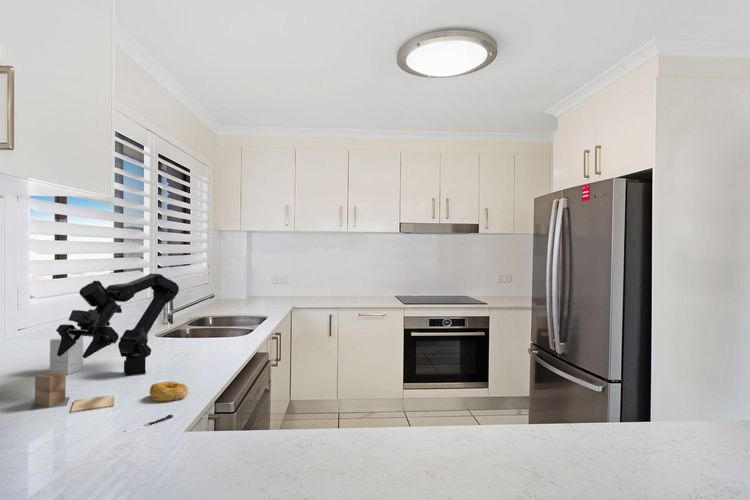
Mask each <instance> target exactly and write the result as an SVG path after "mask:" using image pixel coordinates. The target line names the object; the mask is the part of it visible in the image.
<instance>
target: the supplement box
mask: <svg viewBox="0 0 750 500" xmlns="http://www.w3.org/2000/svg"><path fill="white" fill-rule="evenodd" d="M60 342H61V336H58V337H54V338H50V340H49V372H51V371H55V372H66V375H70V374H73V373H76V372H79V371H81V370H83V368H84V358H83V354H84V336H81V337H80V338H79V339H78V340H76V342H77V343H75V344H74V345H73V346H72V347H71V348H70V349H69V350H67V351H66V352H65V353H64V354H63V355H61V356H60V357H59V356H57V352H58V349H59V346H60Z"/></svg>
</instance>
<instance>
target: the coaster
mask: <svg viewBox="0 0 750 500" xmlns="http://www.w3.org/2000/svg"><path fill="white" fill-rule="evenodd" d="M115 398H116V396H115V394H112V395H111V394H110V395H105V396H95V397H88V398H80V399H75V400H74V401H73V405H72V407H71V411H70V414H74V413H80V411H81V412H87V410H88V411H94V409H95V410H100V409H101V408H102V409H107V407H109V408H114V407H115ZM113 406H114V407H113Z"/></svg>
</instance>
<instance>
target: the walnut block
mask: <svg viewBox="0 0 750 500" xmlns="http://www.w3.org/2000/svg"><path fill="white" fill-rule="evenodd" d="M34 377H35V378H34V401H35V406H42V407H51V406H54V405H57V404H59V403H62V402H65V397H66V389H67V388H66V377H67V374H66V372H55V371H51V372H50V371H48V372H44V373H41V374H37V375H35V376H34Z"/></svg>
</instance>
